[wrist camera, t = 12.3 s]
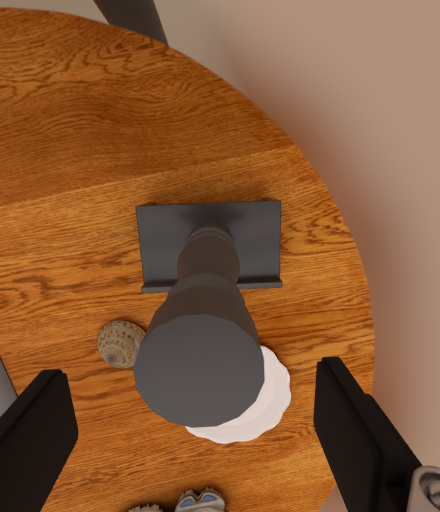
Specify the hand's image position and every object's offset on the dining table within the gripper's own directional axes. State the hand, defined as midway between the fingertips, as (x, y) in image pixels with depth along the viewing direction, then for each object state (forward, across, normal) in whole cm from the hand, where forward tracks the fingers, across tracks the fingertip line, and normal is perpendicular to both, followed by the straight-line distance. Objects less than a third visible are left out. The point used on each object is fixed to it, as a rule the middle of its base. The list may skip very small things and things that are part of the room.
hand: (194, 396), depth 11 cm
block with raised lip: (+34, 0, +1) cm, 34 cm away
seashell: (+34, +15, +18) cm, 41 cm away
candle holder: (+27, 0, +1) cm, 27 cm away
